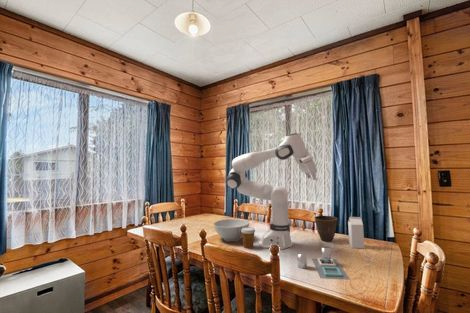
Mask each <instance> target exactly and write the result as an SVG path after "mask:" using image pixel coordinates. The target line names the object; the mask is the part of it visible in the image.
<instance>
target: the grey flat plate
mask: <svg viewBox="0 0 470 313" xmlns="http://www.w3.org/2000/svg"><path fill="white" fill-rule="evenodd" d="M311 260H312V262H313V264H314V267H315V270H316V271H317V274H318V276H319V278H320V279H326V280H327V279H328V280H351V278H350V276H348V274H347V272H346V271H345V269H343V267H342V265H341V264H340V262H339V261H338V259H336V258H331V264H322V258H311ZM321 282H323V281H321ZM341 283H344V282H341Z"/></svg>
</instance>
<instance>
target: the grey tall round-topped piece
mask: <svg viewBox="0 0 470 313" xmlns="http://www.w3.org/2000/svg"><path fill="white" fill-rule="evenodd" d="M320 251H321V252H320V253H321V254H320V255H321V259H322V264H331V259H332V256H331V254H332V253H331V252H332V251H331V247H328V246H321V248H320Z"/></svg>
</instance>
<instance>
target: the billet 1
mask: <svg viewBox="0 0 470 313" xmlns="http://www.w3.org/2000/svg"><path fill="white" fill-rule="evenodd" d="M307 255H308V254H307V253H305V252H298V253H297V268H298V269H301V270H304V269H305V270H307V269H308V259H307V258H308V256H307Z"/></svg>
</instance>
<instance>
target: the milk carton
mask: <svg viewBox="0 0 470 313" xmlns="http://www.w3.org/2000/svg"><path fill="white" fill-rule="evenodd" d="M347 225H348V228H347V229H348V244H349V246H350V247H351V248H352V249H365V238H364V237H365V235H364V224H363V220H362V216H349V217H348V221H347Z"/></svg>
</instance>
